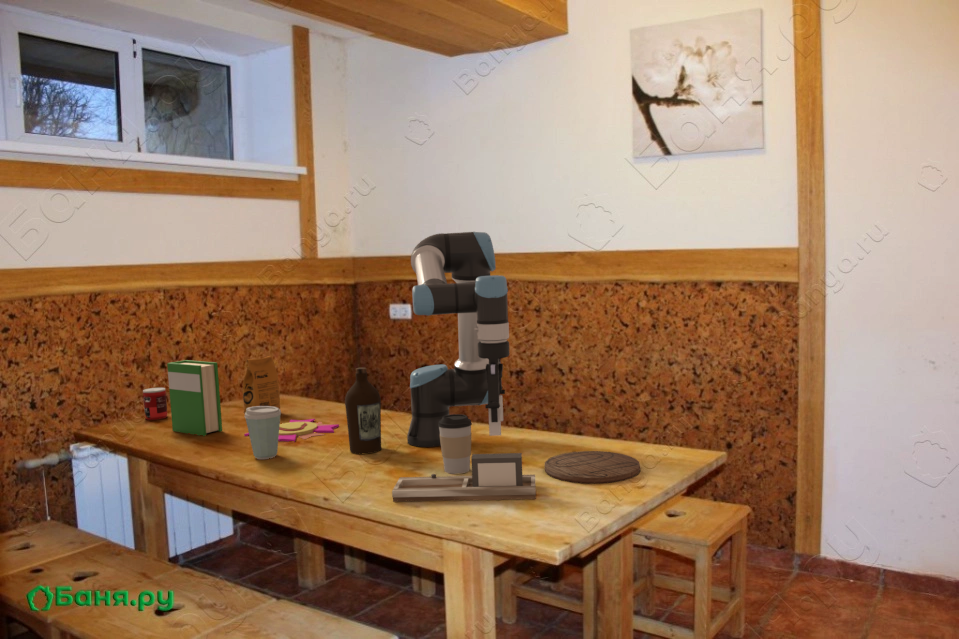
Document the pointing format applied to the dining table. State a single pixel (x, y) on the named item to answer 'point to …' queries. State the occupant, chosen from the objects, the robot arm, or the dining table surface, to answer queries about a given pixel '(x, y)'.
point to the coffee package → (261, 384)
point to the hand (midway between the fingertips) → (496, 427)
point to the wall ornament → (302, 429)
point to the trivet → (592, 467)
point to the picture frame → (497, 470)
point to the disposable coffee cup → (263, 430)
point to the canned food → (155, 403)
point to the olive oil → (363, 415)
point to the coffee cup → (455, 443)
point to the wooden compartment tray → (458, 489)
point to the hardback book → (194, 397)
